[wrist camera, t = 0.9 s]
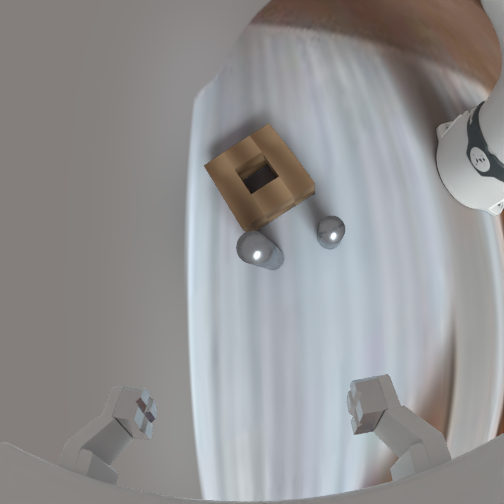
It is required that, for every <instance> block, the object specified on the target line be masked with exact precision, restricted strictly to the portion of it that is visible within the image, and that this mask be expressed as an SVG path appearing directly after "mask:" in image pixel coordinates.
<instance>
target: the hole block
mask: <svg viewBox="0 0 504 504" xmlns="http://www.w3.org/2000/svg"><path fill="white" fill-rule="evenodd" d="M266 165H268V166H269V168H270V169H271V170H272V172H273V173H274V175H275V176H276V177H277V178H276V179H274V180H273V181H271V182H269V183H268V184H266V185H265V186H263V187H262V188H260V189H259V190H257V191H255V192H254V193H252V194H251V192H250V191H249V189H248V188H247V186H246V185H245V183H244V181H243V180H245V179H246V178H248V177H249V176H251V175H252V174H254V173H255V172H257V171H259V170H260V169H262V168H263V167H265V166H266ZM204 167H205V168H206V170H207V172H208V173H209V175H210V177H211V178H212V180H213V181H214V183H215V185H216V186H217V188H218V190H219V191H220V193H221V195H222V196H223V198H224V199H225V201H226V203H227V204H228V206H229V208H230V209H231V211H232V213H233V214H234V216H235V218H236V219H237V221H238V223H239V224H240V226H241V227H242V229H243V230H245V231H246V232H248V231H257V230H258V229H260V228H262V227H263V226H265V225H266V224H268V223H269V222H271V221H272V220H274V219H276V218H277V217H279V216H280V215H282V214H283V213H285V212H286V211H288V210H290V209H291V208H293V207H294V206H296V205H297V204H299V203H301V202H302V201H304V200H305V199H307V198H308V197H310V196H312V195H313V194H315V183H314V181H313V180H312V178H311V177H310V176H309V174H308V173H307V172H306V170H305V169H304V168H303V166H302V165H301V164H300V162H299V161H298V160H297V158H296V157H295V156H294V154H293V153H292V152H291V150H290V149H289V148H288V147H287V145H286V144H285V143H284V141H283V140H282V139H281V138H280V136H279V135H278V134H277V133H276V131H275V130H274V129H273V128H272V126H271V125H270V124H267V125H266V126H264V127H263V128H261V129H259V130H258V131H256V132H254V133H253V134H251V135H250V136H248V137H246V138H245V139H243V140H242V141H240V142H239V143H237V144H235V145H234V146H232V147H231V148H229V149H228V150H226V151H225V152H223V153H222V154H220V155H219V156H217V157H216V158H214V159H213V160H211V161H210V162H208V163H207V164H206V165H204Z"/></svg>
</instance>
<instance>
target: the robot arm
mask: <svg viewBox="0 0 504 504" xmlns="http://www.w3.org/2000/svg"><path fill="white" fill-rule="evenodd" d="M480 1H481V4H482V6H483V9H484V10H485V12H486V14H487V15H488V17H489V19H490V21H491V22H492V24H493V27H494V29H495V31H496V34H497V37H498V40H499V44H500V49H501V56H502V67H501V73H500V77H499V79H498V81H497V83H496V85H495V87H494V89H493V91H492V92H491V94H490V95H489V97H488V98H487V100H486V101H483V102H481V103H480V104H479V105H478V106H476V107H474V108H473V109H471V111H470V113H469V111H465V112H464V113H463V115H462V114H460V115H459V116H458V117H457V118H456V119H455V120H454V121H451V122H447V123H444V124H441V125H439V126H438V127H437V129H436V132H437V137H438V141H439V142H438V149H437V156H436V159H437V167H438V171H439V174H440V177H441V179H442V181H443V183H444V185H445V186H446V188H447V189H448V191H449V192H450V193H451V194H452V196H453V197H454V198H455V199H457V200H458V201H459V202H460V203H462V204H463V205H465V206H467V207H470V208H473V209H482V210H485V211H487V212H488V213H490V214H491V215H493V216H497V215H499V214H500V213H501V211H502V210H503V208H504V0H480ZM498 204H499V206H498ZM350 388H351V390H350V391H349V392H348V395H347V406H348V411H349V413H350V414H351V415H352V416H353V417H352V420H351V424H352V429H353V433H354V435H356V434H362V433H367V432H373V431H374V433H375V434H376V435H377V436H378V437H379V438H380V439H381V440H382V441H383V442H384V443H385V444H386V445H387V446H388V447H389V448H390V449H391V450H392V451H393V452H394V453H395V454H396V455H397V456H398V457H399V458H400V459H399V460H398V461H397V462H396V463H395V464H394V465H393V466H392V467H391V469H390V470H391V475H392V479H393V481H391V482H387V483H384V484H380V485H376V486H372V487H368V488H364V489H359V490H355V491H350V492H345V493H339V494H333V495H327V496H320V497H313V498H304V499H294V500H281V501H258V502H236V501H213V500H200V499H190V498H181V497H174V496H167V495H161V494H155V493H149V492H144V491H140V490H134V489H131V488H126V487H122V486H118V485H116V482H117V478H118V473H117V471H115V470H114V469H113V468H111V467H110V466H109V465H110V464H111V463H112V462H113V461H114V460H115V459H116V457H117V456H118V455H119V454H120V453H121V452H122V451H123V450H124V449H125V448H126V446H127V445H128V444H129V443H130V442H131V441H132V440H133V438H136V439H144V440H151V436H152V432H153V426H152V424H151V423H152V422H153V421H154V420H155V419H156V415H157V407H156V403H155V401H154V399H152V398H150V397H149V395H150V393H149V391H148V390H147V389H140V388H131V387H123V386H114V387H113V388H112V389H111V392H110V394H109V397H108V399H107V402H106V405H105V407H104V410H103V413H102V415H98V416H97V417H96V418H95V419H94V420H92V421H91V422H90V423H89V424H88V425H86V426H85V427H84V428H83V429H81V430H80V431H79V432H78V433H76V434H75V435H74V436H73V437H71V438H70V439H69V440H68V441H66V442H65V445H64V448H63V450H62V453H61V456H60V459H59V462H58V464H57V465H55V464H52V463H50V462H47V461H45V460H43V459H41V458H38V457H36V456H34V455H32V454H30V453H27V452H25V451H24V450H22V449H20V448H18V447H16V446H14V445H12V444H10V443H7V442H2V443H0V504H504V433H503V434H501V435H499V436H498V437H496V438H494V439H492V440H490V441H489V442H487V443H485V444H483V445H481V446H479V447H477V448H475V449H473V450H471V451H469V452H467V453H465V454H463V455H461V456H459V457H456V458H454V459H451V456H450V453H449V450H448V447H447V444H446V442H445V439H444V436H443V434H442V433H441V432H439V431H438V430H437V429H435V428H434V427H432V426H431V425H430V424H428V423H427V422H426V421H424V420H423V419H422V418H420V417H419V416H417V415H416V414H415V413H413V412H412V411H411V410H409V409H408V408H407V407H405V406H401V405H400V402H399V400H398V397H397V394H396V392H395V389H394V386H393V384H392V381H391V378H390V376H389V375H388V374H385V375H381V376H376V377H375V376H374V377H369V378H364V379H359V380H354V381H352V382H351V384H350Z"/></svg>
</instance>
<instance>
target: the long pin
mask: <svg viewBox="0 0 504 504" xmlns="http://www.w3.org/2000/svg"><path fill="white" fill-rule="evenodd" d="M236 248H237V253H238V256H239V257H240V258H241V259H242V260H243V261H244V262H246V263H249V264H253V265H256V266H259V267H263V268H266V269H269V270H275V269H278V268H279V267H281V265H282V264H283V261H284V255H283V253H282V251H281V250H280V249H279V248H278V247H277V246H275V245H274V244H273V243H272V242H271V241H270V240H269V239H268V238H267V237H265V236H264V235H263V234H262V233H260V232H258V231H248V232H246V233H244V234H243V235H242V236H241V237H240V238H239V240H238V242H237V247H236Z"/></svg>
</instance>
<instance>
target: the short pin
mask: <svg viewBox="0 0 504 504" xmlns="http://www.w3.org/2000/svg"><path fill="white" fill-rule="evenodd" d="M344 234H345V225H344V223H343V221H342V220H341V219H340V218H338V217H336V216H327V217H325V218H323V219H322V220H321V221H320V223H319V226H318V241H319V243H320V245H321V246H322V247H324V248H326V249H333V248H336V247H337V246H338V245H339V243H340V242H341V240H342V238H343V236H344Z"/></svg>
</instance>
